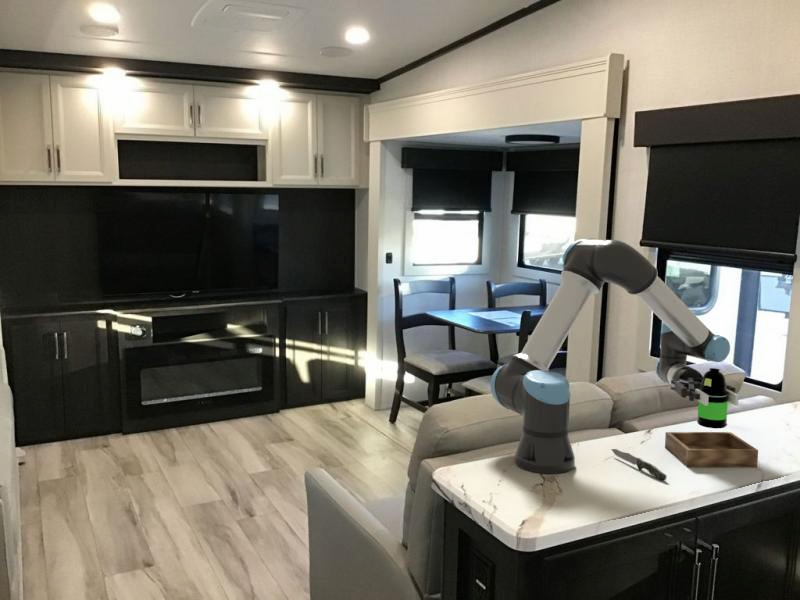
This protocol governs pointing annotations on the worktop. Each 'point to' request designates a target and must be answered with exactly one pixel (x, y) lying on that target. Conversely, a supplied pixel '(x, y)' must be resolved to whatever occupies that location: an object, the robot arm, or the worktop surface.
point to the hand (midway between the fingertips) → (721, 400)
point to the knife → (640, 464)
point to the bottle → (713, 400)
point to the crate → (711, 449)
